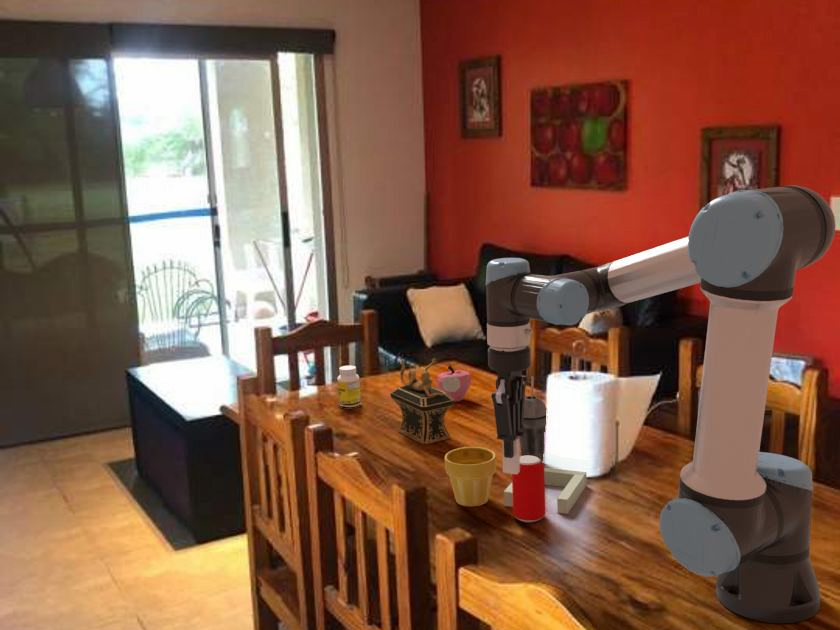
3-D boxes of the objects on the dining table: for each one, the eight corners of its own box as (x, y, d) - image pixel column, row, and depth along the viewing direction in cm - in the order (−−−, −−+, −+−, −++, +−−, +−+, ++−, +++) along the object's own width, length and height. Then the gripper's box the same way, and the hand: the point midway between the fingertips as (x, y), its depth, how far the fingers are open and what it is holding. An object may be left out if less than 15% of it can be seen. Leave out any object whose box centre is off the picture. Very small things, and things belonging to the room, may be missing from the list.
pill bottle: (335, 404, 254) (333, 366, 251) (356, 401, 256) (353, 363, 254) (343, 410, 248) (340, 371, 246) (364, 406, 251) (361, 368, 248)
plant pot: (455, 514, 177) (453, 467, 175) (440, 495, 187) (438, 450, 185) (504, 506, 179) (503, 460, 178) (487, 487, 189) (485, 443, 187)
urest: (567, 514, 174) (567, 499, 174) (504, 505, 180) (503, 491, 179) (586, 485, 188) (586, 472, 187) (526, 478, 193) (526, 465, 192)
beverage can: (524, 509, 178) (522, 451, 175) (551, 516, 174) (550, 457, 171) (507, 520, 173) (505, 461, 171) (534, 527, 169) (533, 467, 167)
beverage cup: (511, 467, 200) (508, 380, 196) (523, 456, 206) (521, 372, 203) (542, 471, 197) (540, 383, 193) (553, 460, 203) (551, 374, 199)
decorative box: (458, 439, 220) (455, 361, 216) (425, 448, 215) (421, 368, 211) (416, 419, 237) (413, 347, 233) (384, 427, 232) (380, 353, 228)
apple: (434, 404, 249) (432, 369, 247) (442, 395, 257) (441, 362, 255) (468, 406, 246) (466, 371, 244) (475, 397, 254) (474, 363, 252)
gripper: (517, 356, 151) (519, 488, 156) (540, 338, 163) (541, 461, 167) (476, 353, 154) (479, 482, 159) (501, 336, 166) (503, 457, 171)
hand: (511, 471), depth 163 cm, fingers closed
